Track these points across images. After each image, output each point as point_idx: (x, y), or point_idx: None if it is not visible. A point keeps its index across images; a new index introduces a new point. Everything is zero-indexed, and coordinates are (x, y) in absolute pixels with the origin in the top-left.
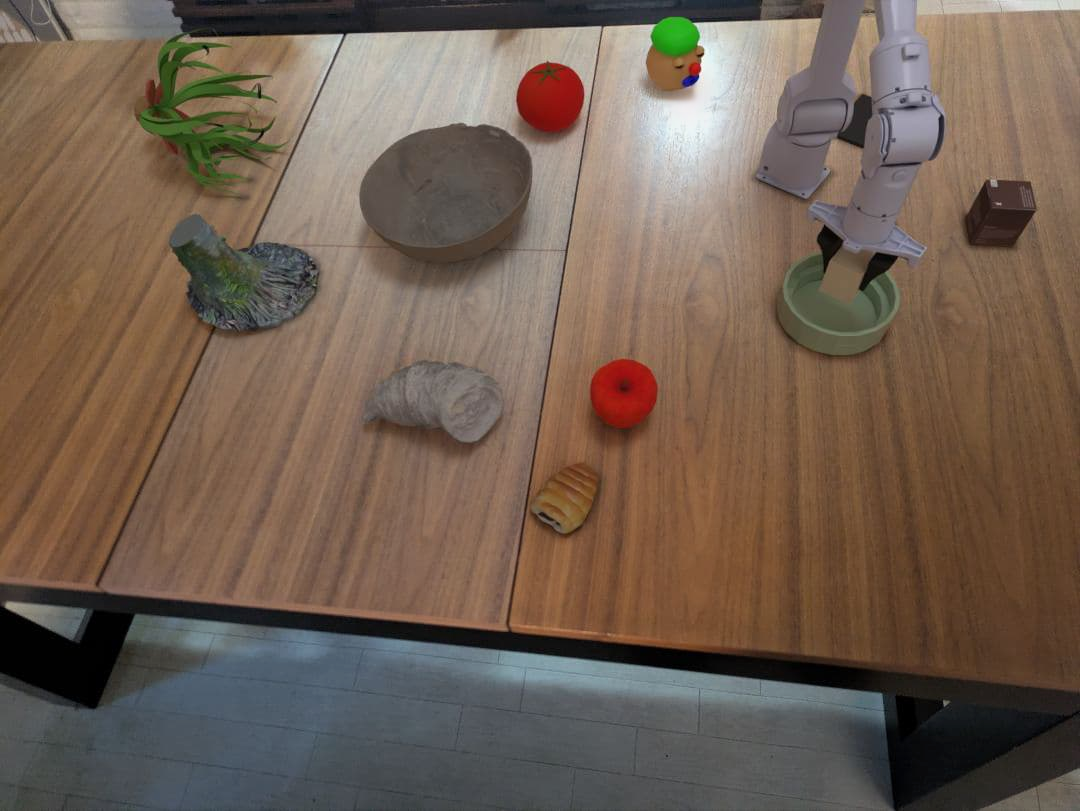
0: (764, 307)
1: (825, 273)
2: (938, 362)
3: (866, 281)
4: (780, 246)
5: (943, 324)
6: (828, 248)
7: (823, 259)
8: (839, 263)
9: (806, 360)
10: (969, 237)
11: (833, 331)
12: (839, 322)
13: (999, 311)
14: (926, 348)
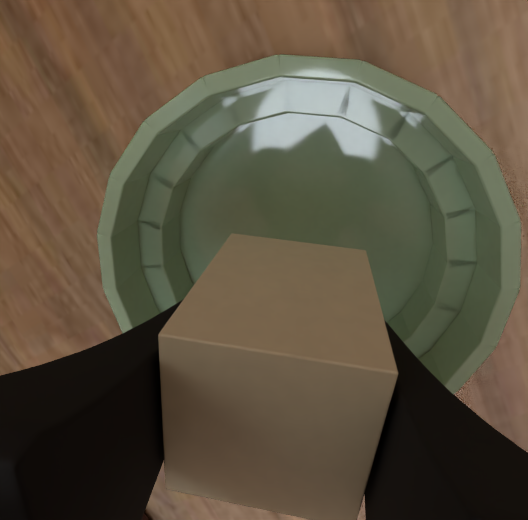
0: (505, 170)
1: (378, 304)
2: (20, 219)
3: (159, 323)
4: (513, 397)
5: (73, 322)
6: (482, 479)
7: (431, 375)
8: (328, 373)
9: (296, 24)
10: (144, 516)
11: (232, 85)
12: (266, 218)
13: None
14: (61, 245)
